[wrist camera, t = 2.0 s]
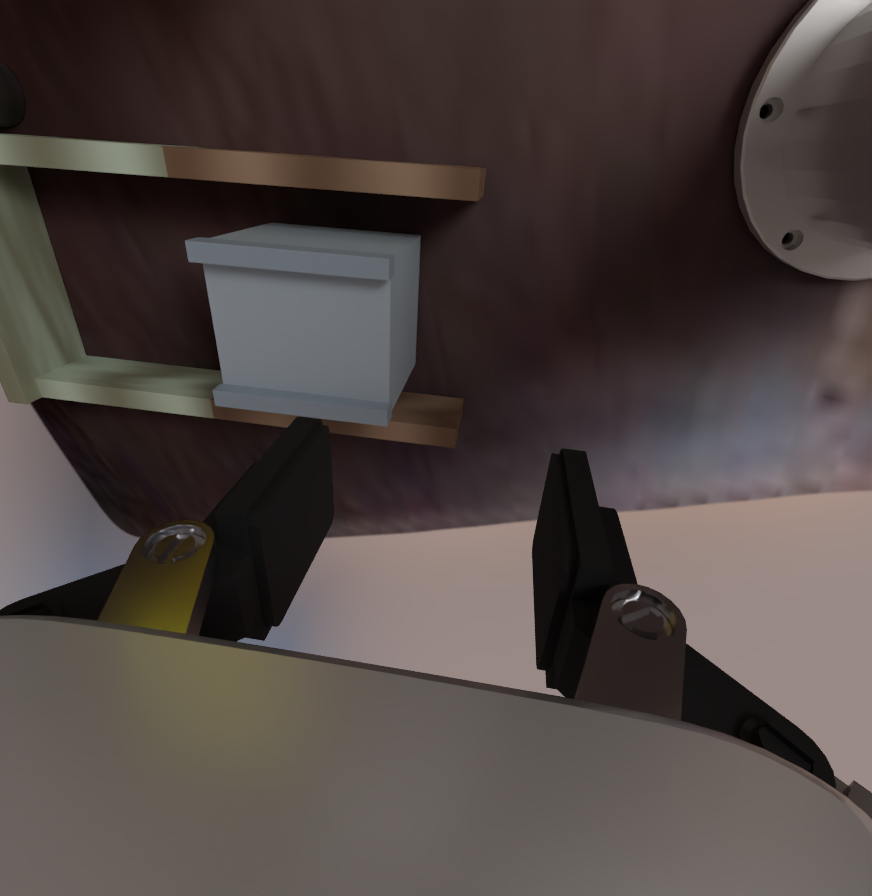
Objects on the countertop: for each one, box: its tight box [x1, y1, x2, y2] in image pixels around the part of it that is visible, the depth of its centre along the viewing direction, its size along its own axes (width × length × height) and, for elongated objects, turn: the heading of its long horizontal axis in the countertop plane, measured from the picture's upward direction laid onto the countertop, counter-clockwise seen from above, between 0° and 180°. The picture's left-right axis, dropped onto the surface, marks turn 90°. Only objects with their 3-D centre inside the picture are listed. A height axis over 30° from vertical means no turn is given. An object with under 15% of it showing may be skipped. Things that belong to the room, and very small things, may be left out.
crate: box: [185, 223, 421, 427], centre depth 24 cm, size 8×7×8 cm
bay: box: [0, 61, 486, 448], centre depth 22 cm, size 27×20×10 cm
